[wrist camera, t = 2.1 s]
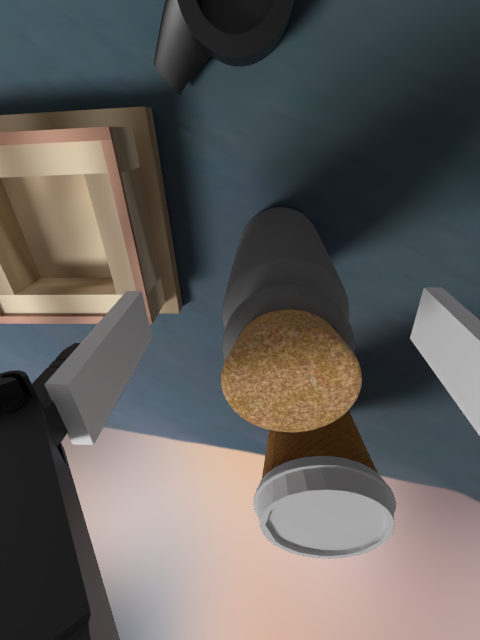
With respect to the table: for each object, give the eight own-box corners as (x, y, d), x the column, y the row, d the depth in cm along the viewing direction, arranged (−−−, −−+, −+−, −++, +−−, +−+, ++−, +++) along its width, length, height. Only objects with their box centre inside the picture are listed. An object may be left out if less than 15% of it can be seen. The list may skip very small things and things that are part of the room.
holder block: (151, 107, 19) (122, 101, 16) (182, 306, 27) (168, 335, 23) (-54, 120, 21) (-128, 117, 17) (28, 306, 28) (-10, 334, 24)
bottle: (229, 219, 23) (176, 335, 10) (310, 195, 21) (372, 290, 9) (251, 290, 25) (234, 453, 13) (325, 272, 24) (388, 432, 11)
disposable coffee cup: (267, 349, 28) (267, 473, 18) (371, 366, 28) (430, 500, 18) (250, 420, 33) (242, 549, 23) (339, 435, 33) (370, 570, 23)
